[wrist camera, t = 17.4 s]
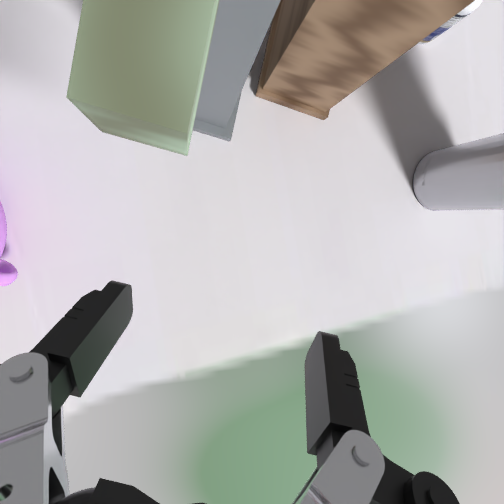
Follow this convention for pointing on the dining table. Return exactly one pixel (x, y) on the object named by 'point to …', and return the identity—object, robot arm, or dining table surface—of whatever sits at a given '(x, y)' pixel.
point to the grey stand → (231, 62)
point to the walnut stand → (341, 46)
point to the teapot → (3, 270)
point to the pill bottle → (451, 21)
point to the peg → (142, 67)
